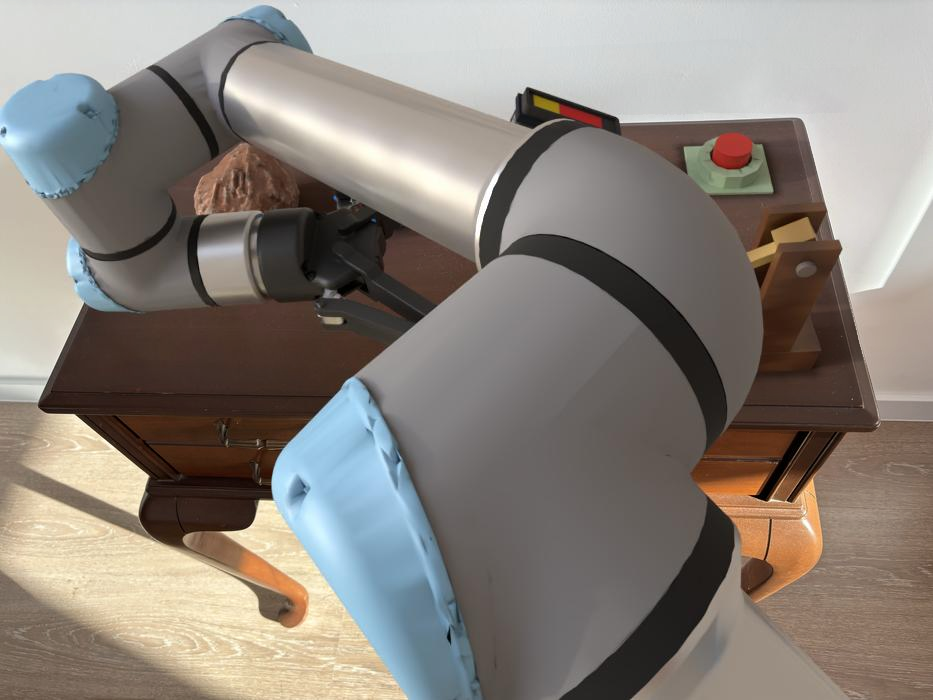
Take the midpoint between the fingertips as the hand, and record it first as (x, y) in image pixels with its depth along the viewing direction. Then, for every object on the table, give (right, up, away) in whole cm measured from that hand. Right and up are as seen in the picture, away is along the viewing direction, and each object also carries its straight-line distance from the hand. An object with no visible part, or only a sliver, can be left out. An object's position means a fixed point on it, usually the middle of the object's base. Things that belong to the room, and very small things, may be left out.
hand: (533, 239), depth 54 cm
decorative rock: (-30, +6, +30) cm, 43 cm away
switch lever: (+17, -3, +4) cm, 18 cm away
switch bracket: (+22, -9, +13) cm, 27 cm away
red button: (+25, +13, +25) cm, 38 cm away
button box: (+25, +12, +27) cm, 39 cm away
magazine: (+5, +8, +27) cm, 29 cm away
